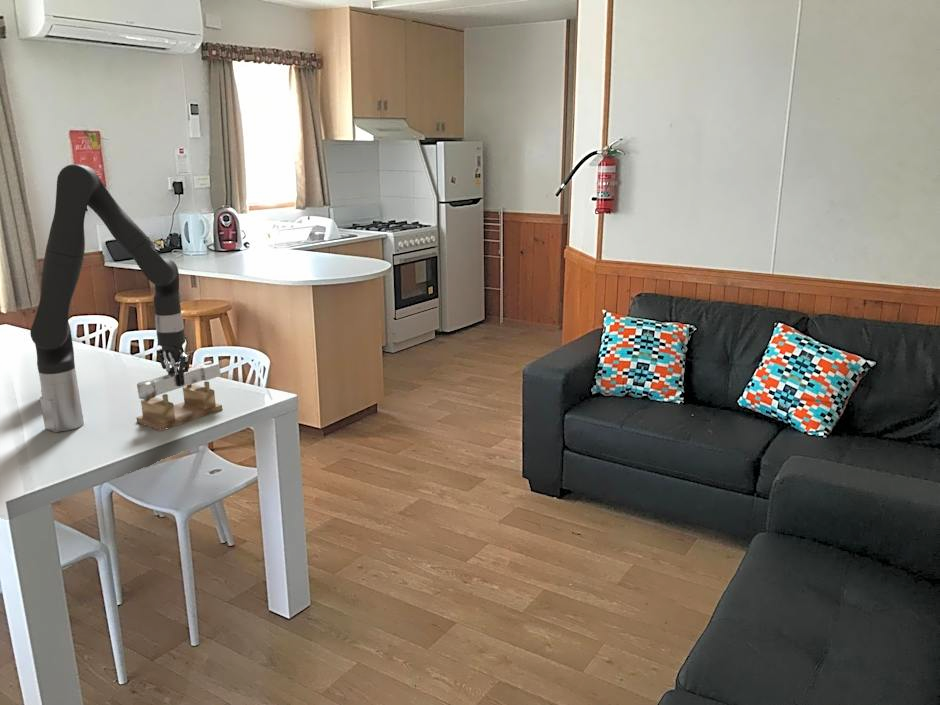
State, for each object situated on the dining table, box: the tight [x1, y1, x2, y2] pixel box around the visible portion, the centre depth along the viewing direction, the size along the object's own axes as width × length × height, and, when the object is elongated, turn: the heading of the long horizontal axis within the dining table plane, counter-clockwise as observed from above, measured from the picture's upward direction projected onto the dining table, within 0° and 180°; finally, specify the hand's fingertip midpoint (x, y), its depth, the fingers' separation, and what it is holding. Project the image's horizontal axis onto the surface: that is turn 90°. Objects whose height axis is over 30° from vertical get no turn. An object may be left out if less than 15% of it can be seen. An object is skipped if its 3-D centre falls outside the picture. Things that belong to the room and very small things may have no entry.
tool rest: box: [135, 381, 223, 431], centre depth 225 cm, size 21×12×10 cm, turn 145°
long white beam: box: [136, 360, 221, 400], centre depth 224 cm, size 26×5×4 cm, turn 145°
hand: (177, 384), depth 223 cm, fingers closed on long white beam, 3 cm apart
